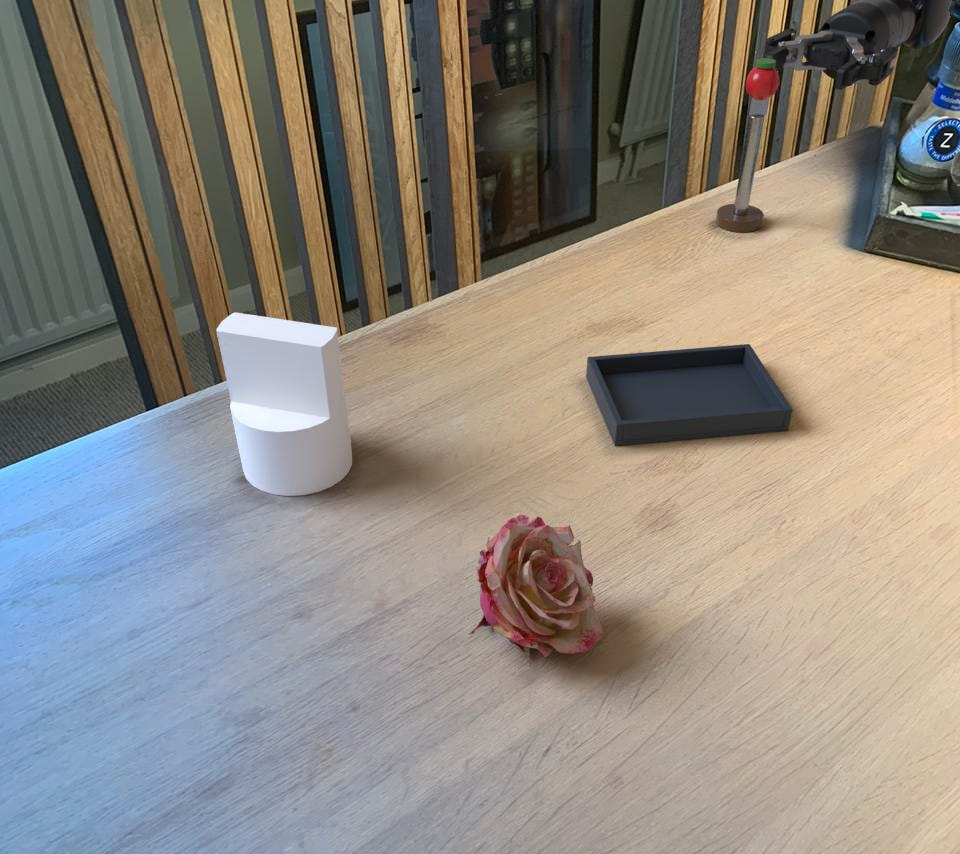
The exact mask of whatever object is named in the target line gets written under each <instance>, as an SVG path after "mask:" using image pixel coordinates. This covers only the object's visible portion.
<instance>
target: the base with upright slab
mask: <svg viewBox="0 0 960 854" xmlns="http://www.w3.org/2000/svg"><path fill="white" fill-rule="evenodd" d="M215 332H216V337H217V341H218V347H219V351H220V355H221V361H222V365H223V369H224V375H225V380H226V385H227V389H228V395H229V399H230V405H229V408H230V413H231V419H232V422H233V428H234V433H235V438H236V443H237V447H238V453H239V457H240V462H241V466H242V471H243V474H244V477H245V479H246V480H247V481H248V483H250V485H251V486H252V487H254V488H256V489H258V490H260V491H261V492H264V493H268V494H271V495H275V496H284V497H296V496H298V497H299V496H306V495H312V494H316V493H320V492H322V491H324V490H327V489H330V488H332V487H333V486H335V485H337V484H338V483H339V482H341V481H342V480H343V479H344V478H345V477H346V476H347V475H348V474H349V472H350V470H351V468H352V466H353V449H352V442H351V432H350V425H349V424H350V423H349V415H348V406H347V405H348V404H347V397H346V392H345V386H344V385H345V384H344V377H343V369H342V367H343V366H342V361H341V351H340V342H339V334H338V327H337V326H336V327H335V326H328V325H323V324H322V325H321V324H316V323H308V322H302V321H297V320H289V319H282V318H275V317H268V316H263V315H262V316H261V315H257V314H256V315H255V314H248V313H241V312H236V311H235V312H233V313H231V314H229V315H228V316H226V317H225V318H224V319H223V320H222V321H221V322H220V323H219V325H218V326H217V328H216V331H215Z"/></svg>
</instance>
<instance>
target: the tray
mask: <svg viewBox="0 0 960 854" xmlns="http://www.w3.org/2000/svg"><path fill="white" fill-rule="evenodd" d="M585 378H586V381H587V383H588V386H589V387H590V390H591V392H592V395H593V397H594V400H595V402H596V404H597V408H598V409H599V412H600V414H601V416H602V419H603V421H604V424H605V426H606V429H607V431H608V434H609V436H610V438H611V441H612V442H613V446H614V447H618V446H620V447H621V446H631V445H642V444H653V443H664V442H675V441H688V440H696V439H697V440H698V439H707V438H708V439H710V438H719V437H730V436H731V437H733V436H742V435H754V434H764V433H776V432H787V431H789V428H790V423H791V420H792V415H793V411H794V410H793V408H792V405H790V403H789V401H788V399H786V397H785V395H784V393H783V392H782V391H781V389H780V388H779V386H778V384H777V383H776V382H775V380H774V379H773V377H772V376H771V374H770V372H769V371H768V370H767V368H766V367H765V365H764V364H763V362H762V360H761V359H760V358H759V356H758V354H757V352H755V350H754V348H753V346H751V344H750V343H744V344H732V345H731V344H730V345H718V346H708V347H705V346H704V347H695V348H682V349H671V350H669V349H668V350H658V351H656V350H655V351H646V352H644V351H643V352H632V353H631V352H630V353H621V354H619V353H618V354H608V355H607V354H606V355H597V356H596V355H595V356H587V360H586V372H585Z"/></svg>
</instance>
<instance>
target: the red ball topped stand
mask: <svg viewBox="0 0 960 854" xmlns="http://www.w3.org/2000/svg"><path fill="white" fill-rule="evenodd" d="M775 66H776V60H774V59H770V58H763V57H760V58H757V59H756V61H755V66H754V67H753V68H752V69H751V70H750V71H749V73H748V75H747V77H746V79H745V90H746V92H747V94H748V96H750V99H749V104H748V111H747V116H748V121H747V126H746V127H747V128H746V133H745V139H744V145H743V150H742V155H741V156H742V157H741V162H740V168H739V174H738V181H737V186H736V193H735V198H734V203H729V204H725V205H722V206H720V207H719V208H717V210H716V216H715V225H717V226H718V227H719V228H721V229H723V230H725V231H728V232H733V233H751V232H755V231H757V230H759V229H760V228H761V227H762V224H763V221H764V213H763V210H761V209H760V208H758V207H756V206H753V205H751V204H750V201H751V196H752V190H753V184H754V179H755V174H756V173H755V172H756V166H757V163H758V162H757V161H758V156H759V151H760V144H761V139H762V134H763V127H764V121H765V116H767V115H768V108H769V102H770V99H771V98H772V97H773V96H774V95H775V94H776V92H777V91H778V89H779V86H780V82H781V81H780V79H781V78H780V74H779V71H777V70H776V69H775V68H774V67H775Z"/></svg>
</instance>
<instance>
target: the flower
mask: <svg viewBox="0 0 960 854" xmlns="http://www.w3.org/2000/svg"><path fill="white" fill-rule="evenodd" d="M574 539H575V536H574V532H573V530H572V527H571V524H569V525H567V526H550V525H548V524H546V523H545V521H544V519H543V518H542V517H540V516H536V517H534V518H532V519H531V520H530V517H529V516H528V515H525V514H518V515H517V516H516V517H512V518H509V519H508V520H507V521H506V522H505V524H504V525H503V526H501V527H500V529H499V531H498V532H497V533H496V534H495V535H494V536H493V537H491V538H490V537H489V536H488V537H487V540H486V544H485V546H486V550H485V549H482V550H480V552H479V555H480V558H479V560H478V561H477V563H478V565H477V566H476V573H477V577H478V579H477V582H479V590H480V591H479V592H480V593H479V594H480V595H479V604H480V609H481V611H482V614H483V615H482V617H481V620H480V622H479V623H478V624H477V626H476V627H475V628H474V629H472V631H470V633H469V634H468V636H470V635H471V636H472V635H474V634H475V632H476V631H477V630H478V629H479V628H482V627H485V628H486V627H489V626H491V628H490V630H489V632H488V636H490V635H491V634H493V633H495V631H496V632H497V633H498V634H499V635H501V636H502V637H503V638H504V639H507V640H509V642H510V643H511V644H513V645H515V646H516V647H517V648H518V649H519V650H520V651H521V652H522V653H524V655H525V657H526V658H527V660H528V664H529V668H531V666H532V664H531V660H530V649H535V650H537V651H538V652H539V653H540V654H542V656H544V658H547V657H549V655H550V654H551V653H552V652H553V651H554V650H553V649H552V648H554V649H555V650H556V651H557V652H558V653H561V654H578V653H585V652H588V651H589V650H591V648H592V646H593V644H596V643H598V642H599V640H601V638H602V637H603V634H604V631H603V628H602V625H601V622H600V620H599V616H598V614H597V611H596V608H595V605H594V603H595V601H596V596H595V593H594V592H593V589H592V588H593V584H594V576H593V574H592V571H591V570H589V569H587V567H585V565H584V560H583V553H582V544H581V543H582V542H581V540H580V539H578V540H577V542H576V543H575V544H572V543H573V542H574ZM494 630H495V631H494ZM544 643H545V644H548V645H550V646H552V648H550V647H549V646H547V645H545V644H544Z"/></svg>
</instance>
